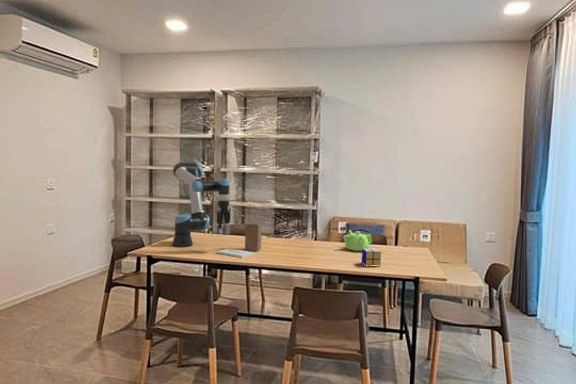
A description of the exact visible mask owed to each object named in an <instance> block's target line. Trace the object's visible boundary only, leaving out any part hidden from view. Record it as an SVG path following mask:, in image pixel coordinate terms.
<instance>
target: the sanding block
mask: <svg viewBox="0 0 576 384" xmlns="http://www.w3.org/2000/svg"><path fill="white" fill-rule="evenodd" d="M216 234H218V235H219V234H220V235H231V225H230V224H228V225H224V224H223V233H219V224H217V225H216Z"/></svg>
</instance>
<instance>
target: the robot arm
mask: <svg viewBox="0 0 576 384" xmlns="http://www.w3.org/2000/svg"><path fill="white" fill-rule="evenodd" d="M203 170H204V169H203V167H202V166H201V164H200V163H197V162H178V163H176V164H175V165H174V167H173V168H172V174H173V176H175V178H177V179H179V180H182V181H184V182H185V183H186V184H187V185H188V192H189V202H190V206H191V213H181V214H178V215H176V216H175V218H174V236H173V239H172V243H171V245H172V247H175V248H176V247H177V248H186V247H187V248H188V247H192V246H193V244H194V242H193V241H192V235H191V233H192V231H193V232H195V231H204V230H207V229H208V228H209V227H210V221H211V220H210V216H209V215H208V214H206V211H205V210H204V206H203V200H202V194H201V193H204V192H205V193H207V192H212V193H213V192H214V193H215V192H216V193H217V192H218V194H217V195H218V197H217V198H218V199H217V200H218V204H217V205H218V206H219V207H218V209H216V210H215V212H216V224H217V225H219V233H223V225H229V224H230V223H231V210H232V209H231V208H229V206H230V201H229V200H230V179H228V178H219V179H218V180H209V181H208V180H202V176H203V173H204V171H203ZM223 221H224V224H223Z"/></svg>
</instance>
